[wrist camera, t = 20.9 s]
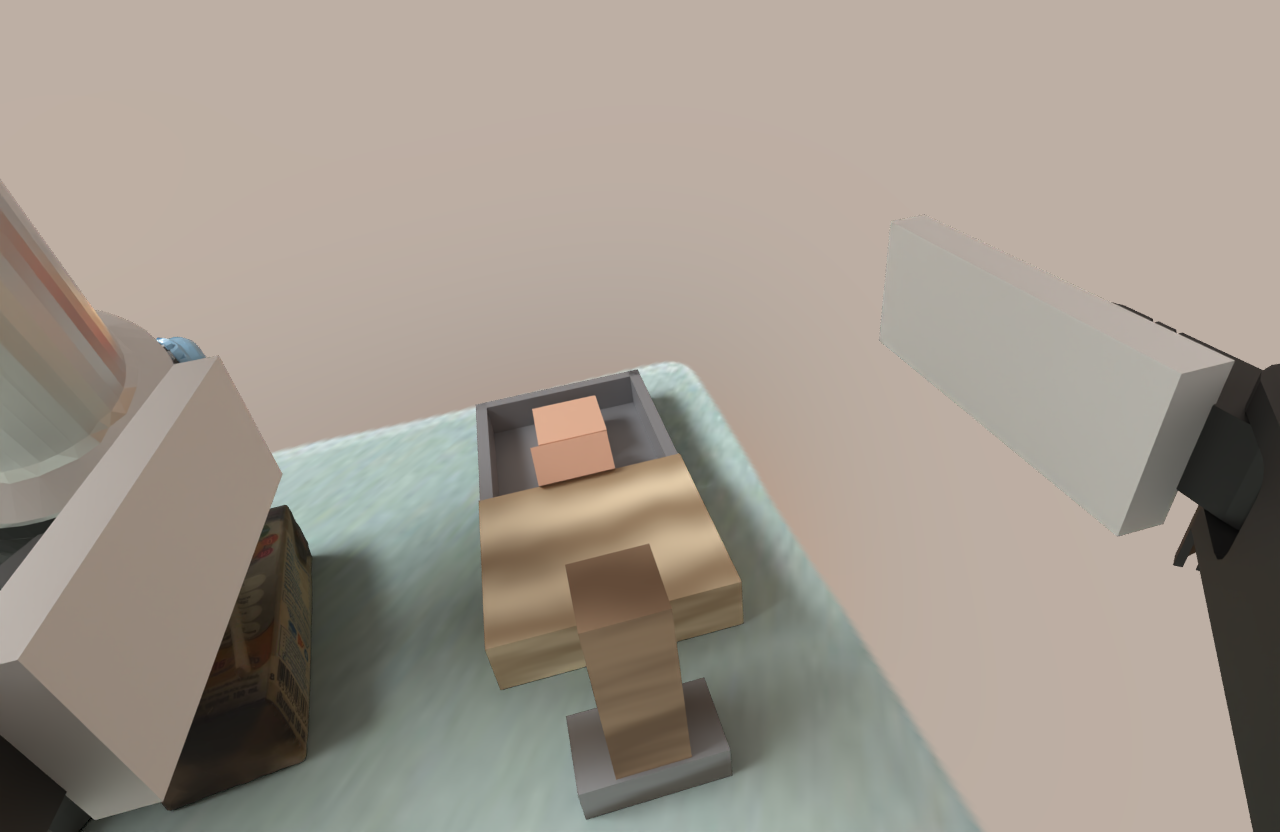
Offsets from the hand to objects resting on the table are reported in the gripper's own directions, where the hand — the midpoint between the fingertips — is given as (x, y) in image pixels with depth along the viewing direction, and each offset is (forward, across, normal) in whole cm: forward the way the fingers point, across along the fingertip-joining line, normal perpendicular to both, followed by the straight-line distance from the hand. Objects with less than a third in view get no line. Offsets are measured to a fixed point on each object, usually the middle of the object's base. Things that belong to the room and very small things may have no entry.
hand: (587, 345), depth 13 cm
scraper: (+8, 0, -30) cm, 31 cm away
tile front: (+31, 0, -28) cm, 41 cm away
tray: (+37, 0, -30) cm, 48 cm away
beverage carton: (+23, -24, -30) cm, 45 cm away
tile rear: (+38, 0, -26) cm, 47 cm away
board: (+22, 0, -30) cm, 37 cm away
